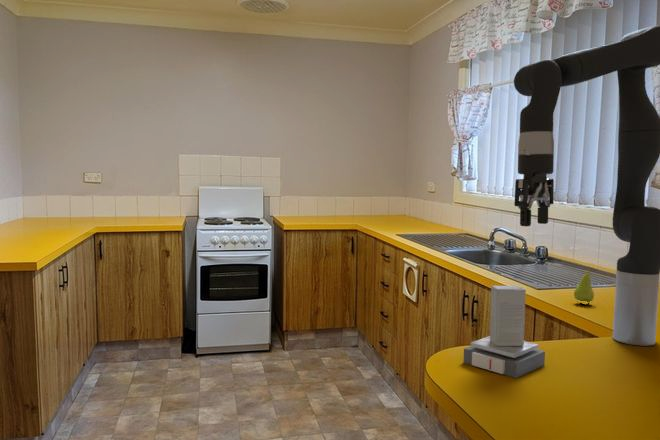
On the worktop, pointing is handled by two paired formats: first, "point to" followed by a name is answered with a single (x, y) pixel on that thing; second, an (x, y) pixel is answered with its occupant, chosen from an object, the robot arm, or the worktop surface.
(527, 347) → the pan
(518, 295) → the skincare box
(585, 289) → the fruit
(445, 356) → the worktop surface
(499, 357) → the scale base
